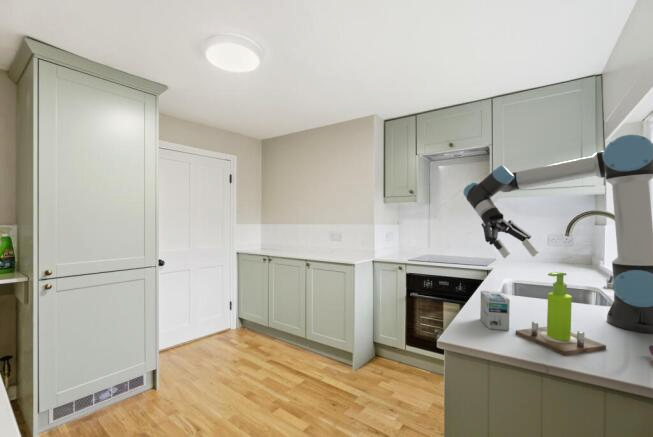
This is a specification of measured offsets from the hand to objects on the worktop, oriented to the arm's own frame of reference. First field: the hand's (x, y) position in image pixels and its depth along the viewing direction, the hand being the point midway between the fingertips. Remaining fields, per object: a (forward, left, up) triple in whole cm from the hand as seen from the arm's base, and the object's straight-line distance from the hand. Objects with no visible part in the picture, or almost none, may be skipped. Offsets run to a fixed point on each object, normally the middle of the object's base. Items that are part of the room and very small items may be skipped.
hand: (521, 255), depth 114 cm
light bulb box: (+12, 0, -25) cm, 27 cm away
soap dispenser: (+4, +17, -23) cm, 29 cm away
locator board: (+4, +17, -24) cm, 30 cm away
